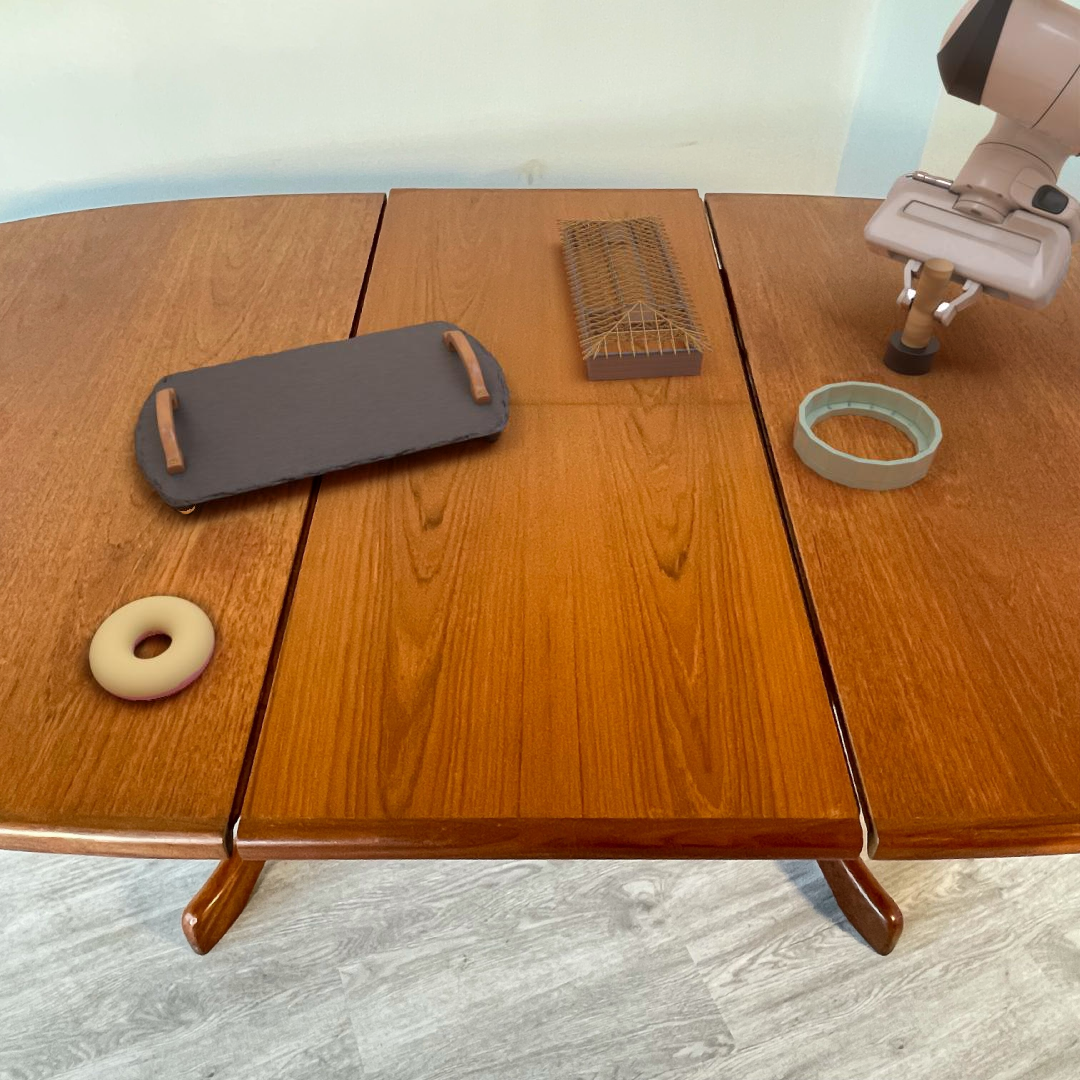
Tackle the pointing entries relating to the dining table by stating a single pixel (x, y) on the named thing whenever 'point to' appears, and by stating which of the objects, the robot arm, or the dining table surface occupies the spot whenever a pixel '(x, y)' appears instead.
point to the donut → (160, 673)
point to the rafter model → (636, 314)
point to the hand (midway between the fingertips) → (921, 314)
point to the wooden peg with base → (920, 323)
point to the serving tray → (317, 411)
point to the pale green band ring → (875, 404)
